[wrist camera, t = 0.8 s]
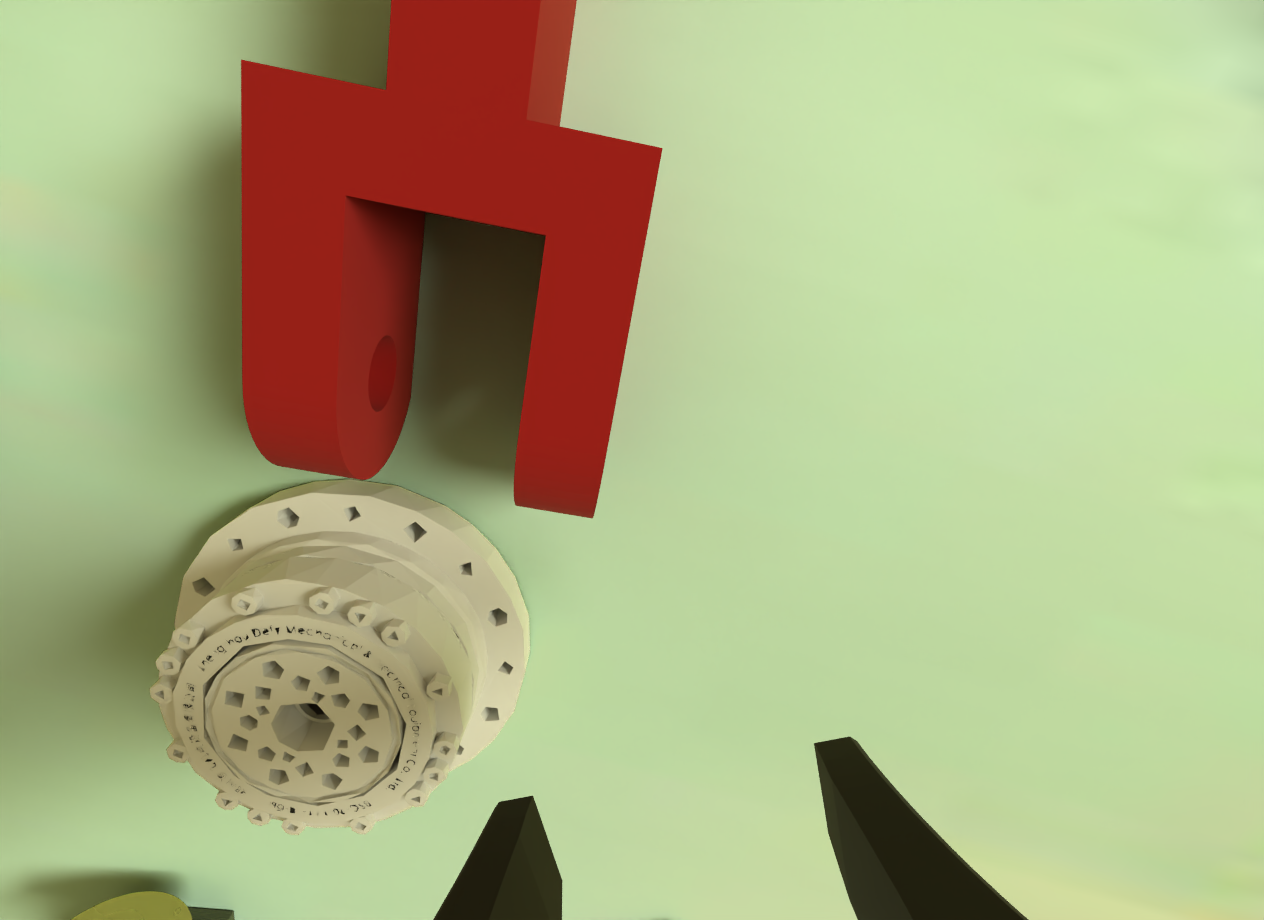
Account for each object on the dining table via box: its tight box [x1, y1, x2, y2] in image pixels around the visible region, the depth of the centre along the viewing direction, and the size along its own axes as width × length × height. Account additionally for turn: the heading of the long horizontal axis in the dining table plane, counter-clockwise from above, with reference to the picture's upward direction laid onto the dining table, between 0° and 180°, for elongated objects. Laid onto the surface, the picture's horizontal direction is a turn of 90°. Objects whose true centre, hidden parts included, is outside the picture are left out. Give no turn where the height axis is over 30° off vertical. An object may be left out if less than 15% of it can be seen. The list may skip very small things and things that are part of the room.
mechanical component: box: [150, 479, 530, 835], centre depth 17 cm, size 10×4×10 cm
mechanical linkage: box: [241, 0, 662, 518], centre depth 13 cm, size 16×7×5 cm, turn 169°
